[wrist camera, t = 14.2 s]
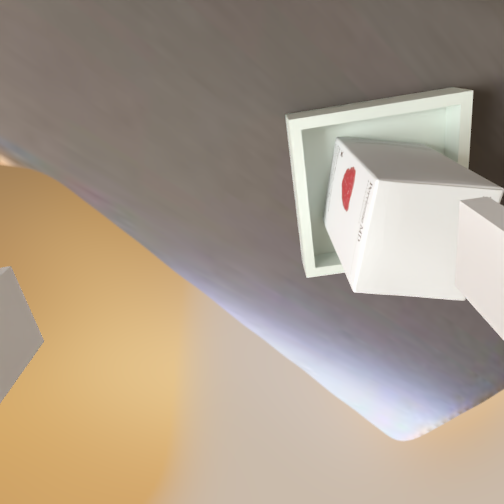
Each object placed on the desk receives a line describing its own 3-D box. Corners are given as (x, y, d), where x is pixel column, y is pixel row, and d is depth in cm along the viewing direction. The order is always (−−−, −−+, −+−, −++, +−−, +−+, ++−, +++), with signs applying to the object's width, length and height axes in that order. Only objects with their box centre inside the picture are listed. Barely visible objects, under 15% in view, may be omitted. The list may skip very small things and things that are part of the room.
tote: (285, 114, 41) (288, 120, 37) (453, 86, 40) (473, 90, 37) (302, 260, 48) (306, 277, 44) (446, 240, 47) (462, 255, 43)
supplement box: (333, 134, 41) (376, 174, 27) (424, 142, 41) (511, 186, 28) (319, 221, 45) (350, 295, 31) (402, 228, 45) (468, 304, 32)
